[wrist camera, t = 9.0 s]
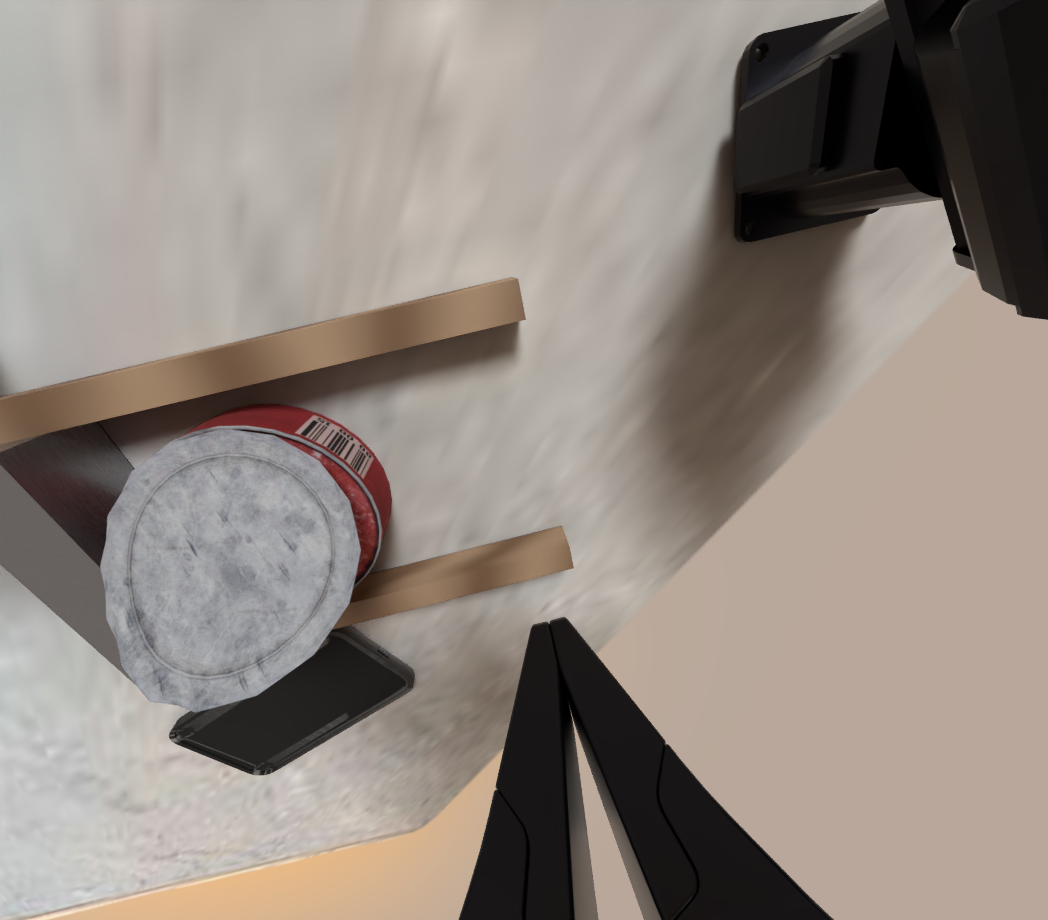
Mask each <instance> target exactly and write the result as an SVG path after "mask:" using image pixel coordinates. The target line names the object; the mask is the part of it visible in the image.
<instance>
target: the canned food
mask: <svg viewBox="0 0 1048 920" xmlns="http://www.w3.org/2000/svg"><path fill="white" fill-rule="evenodd" d="M391 502H392V498H391V491H390V484H389V481H388V479H387V476H386V474H385V471H384V468H383V467H382V465H381V464H380V462H379V461H378V459H377V457H376V456H375V454H374V453H373V452H372V451H371V449H370V448H369V447H368V446H367V445H366V444H365V443H364V442H363V441H362V440H361V439H360V438H359V437H358V436H356V435H355V434H354V433H352V432H351V431H349V430H348V429H347V428H345V427H344V426H343V425H341V424H339V423H337V422H335V421H333V420H331V419H329V418H327V417H325V416H323V415H321V414H318V413H315V412H312V411H309V410H306V409H303V408H300V407H293V406H287V405H280V404H252V405H248V406H243V407H238V408H233V409H230V410H228V411H225V412H223V413H221V414H218V415H216V416H214V417H212V418H211V419H209V420H207V421H206V422H204V423H202V424H201V425H199V426H197V427H196V428H194V429H192V430H191V431H189V432H187V433H186V434H184V435H182V436H181V437H179V438H177V439H174V440H172V441H171V442H169V443H168V444H167V445H165V446H164V447H163V448H161V449H160V450H159V451H157V452H156V453H155V454H153V456H152V457H151V458H150V459H148V460H147V461H145V462H144V463H143V464H141V465H140V466H139V467H137V468H136V469H134V470H133V471H132V472H131V474H130V476H129V478H128V480H127V482H126V484H125V486H124V489H123V491H122V493H121V495H120V496H119V498H118V499H117V501H116V503H115V504H114V506H113V508H112V509H111V511H110V512H109V514H108V517H107V533H106V543H105V547H104V552H103V556H102V560H101V565H100V569H101V573H102V578H103V583H104V587H105V594H106V619H107V621H108V624H109V626H110V628H111V630H112V632H113V634H114V636H115V639H116V641H117V645H118V650H119V655H120V660H121V665H122V668H123V669H124V670H125V671H126V673H127V674H128V675H129V677H130V678H131V679H132V681H133V682H134V683H135V685H136V686H137V687H138V688H139V689H140V691H141V692H142V693H143V694H144V695H145V697H146V698H147V699H148V700H149V701H150V702H156V703H164V704H172V705H178V706H180V707H183V708H185V709H188V710H190V711H193V712H195V713H196V712H200V711H203V710H207V709H211V708H215V707H219V706H222V705H226V704H230V703H233V702H237V701H240V700H244V699H247V698H251V697H254V696H257V695H259V694H260V693H261V692H263V691H264V690H266V689H267V688H268V687H270V686H271V685H273V684H274V683H275V682H277V681H278V680H280V679H281V678H282V677H284V676H285V675H287V674H288V673H289V672H291V671H292V670H294V669H295V668H296V667H298V666H299V665H300V664H302V663H303V662H305V661H306V660H307V659H309V658H310V657H312V656H313V655H314V654H315V653H316V651H317V650H318V649H319V647H320V646H321V644H322V643H323V641H324V640H325V638H326V637H327V636H328V634H329V633H330V631H331V630H332V628H333V627H334V625H335V624H336V623H337V621H338V620H339V618H340V617H341V615H342V614H343V612H344V611H345V609H346V608H347V606H348V605H349V603H350V599H351V595H352V591H353V588H354V587H355V586H356V585H358V584H359V583H360V582H361V581H362V580H363V579H364V578H365V577H366V576H367V575H368V573H369V572H370V570H371V569H372V567H373V566H374V564H375V563H376V560H377V557H378V554H379V551H380V549H381V543H382V539H383V536H384V533H385V530H386V526H387V523H388V520H389V517H390V513H391Z"/></svg>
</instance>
